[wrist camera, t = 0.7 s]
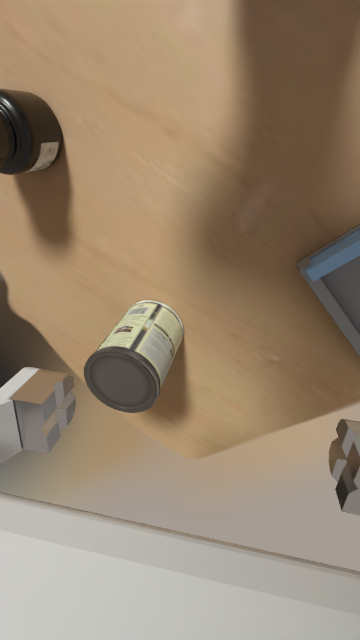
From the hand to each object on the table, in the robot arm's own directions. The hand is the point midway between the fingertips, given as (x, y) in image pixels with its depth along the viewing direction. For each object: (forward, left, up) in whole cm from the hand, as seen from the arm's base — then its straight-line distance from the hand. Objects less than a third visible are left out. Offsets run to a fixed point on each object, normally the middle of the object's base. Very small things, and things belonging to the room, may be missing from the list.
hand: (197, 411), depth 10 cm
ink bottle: (+1, -31, -37) cm, 48 cm away
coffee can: (+24, -9, -37) cm, 45 cm away
